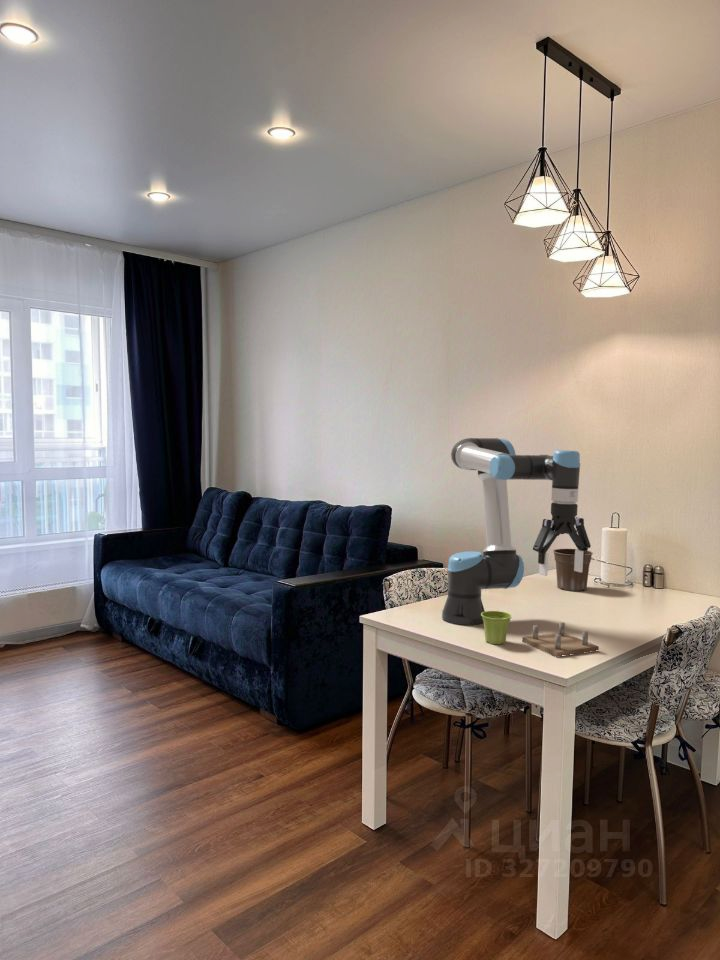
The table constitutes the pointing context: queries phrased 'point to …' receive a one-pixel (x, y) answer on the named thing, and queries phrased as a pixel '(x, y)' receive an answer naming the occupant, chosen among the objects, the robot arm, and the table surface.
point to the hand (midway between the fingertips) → (560, 573)
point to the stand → (560, 642)
